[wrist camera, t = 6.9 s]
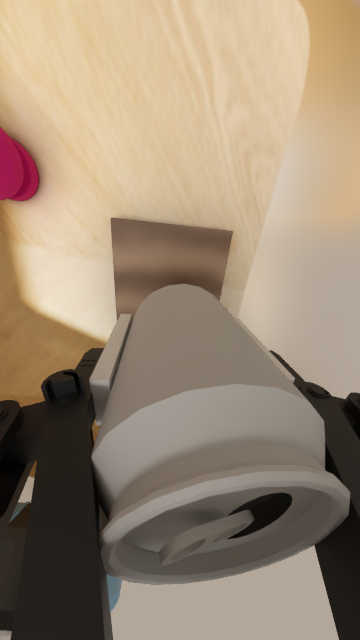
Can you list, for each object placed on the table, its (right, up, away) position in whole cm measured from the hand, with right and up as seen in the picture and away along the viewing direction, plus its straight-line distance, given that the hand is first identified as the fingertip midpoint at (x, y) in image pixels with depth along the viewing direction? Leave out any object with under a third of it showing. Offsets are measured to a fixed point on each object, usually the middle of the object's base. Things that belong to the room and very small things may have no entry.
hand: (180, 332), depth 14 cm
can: (0, +1, +1) cm, 1 cm away
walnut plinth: (-2, +7, +15) cm, 17 cm away
